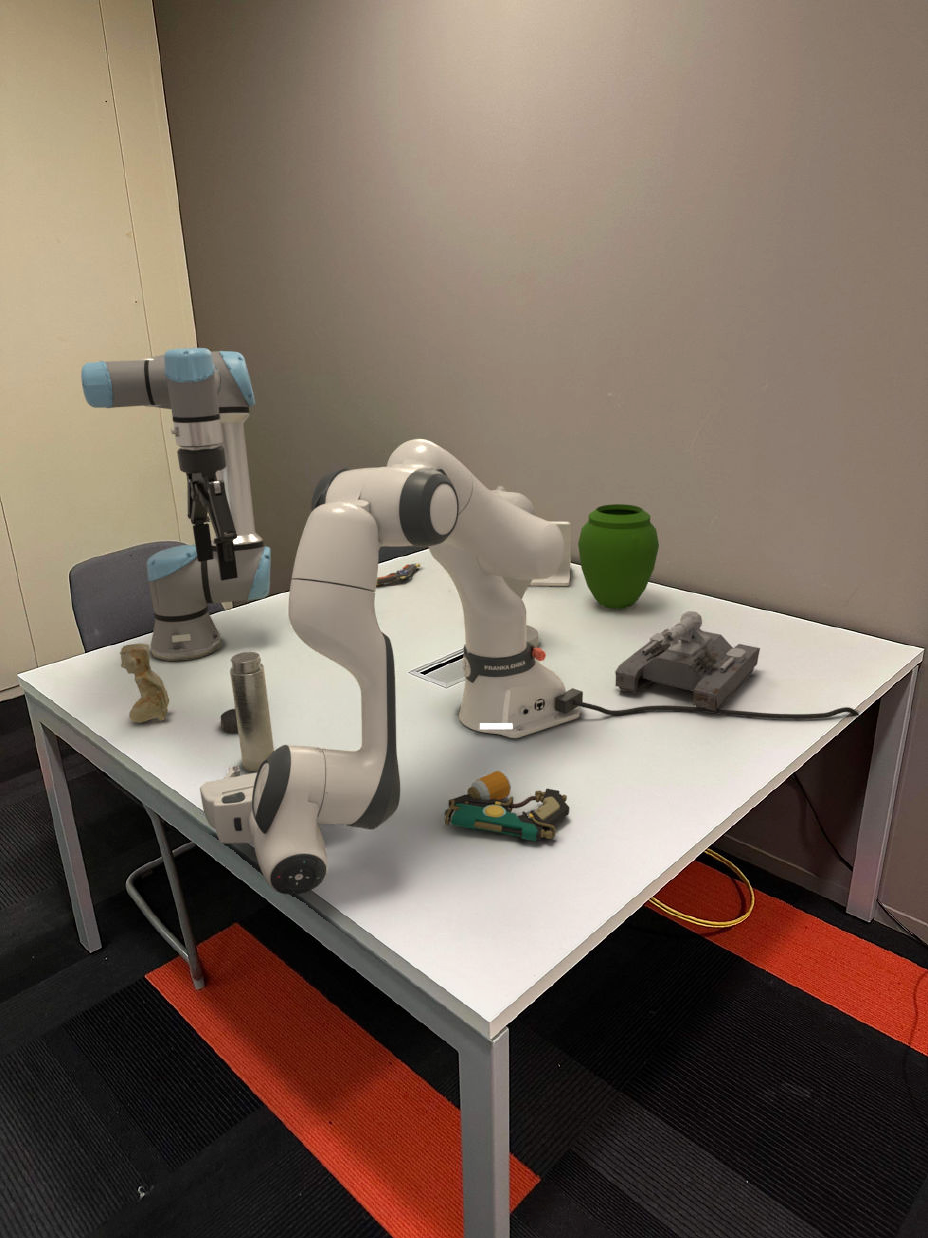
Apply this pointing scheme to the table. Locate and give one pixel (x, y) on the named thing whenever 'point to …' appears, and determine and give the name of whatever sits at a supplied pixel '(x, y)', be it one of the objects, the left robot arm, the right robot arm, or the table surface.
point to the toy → (690, 663)
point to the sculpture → (145, 684)
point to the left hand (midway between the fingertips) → (217, 569)
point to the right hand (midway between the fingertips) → (265, 764)
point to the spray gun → (506, 809)
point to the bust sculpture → (515, 584)
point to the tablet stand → (563, 572)
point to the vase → (618, 554)
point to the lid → (229, 721)
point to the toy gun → (398, 574)
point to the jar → (251, 709)
